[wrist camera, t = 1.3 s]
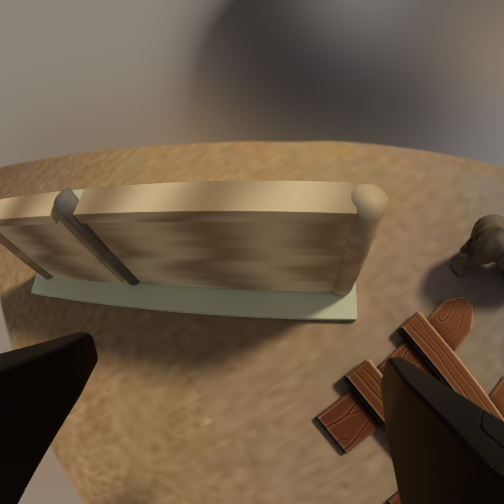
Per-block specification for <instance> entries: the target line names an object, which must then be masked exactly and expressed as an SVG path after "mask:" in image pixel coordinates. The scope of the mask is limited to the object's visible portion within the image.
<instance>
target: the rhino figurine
mask: <svg viewBox="0 0 504 504" xmlns="http://www.w3.org/2000/svg"><path fill="white" fill-rule="evenodd" d="M462 249H463V252H464V254H460V255H459V256H458V260H454V261H453V262H452V263H451V267H452V270H453V271H454V272H455V274H457V275H458V276H461V275H464V274H466V272H467V268H466V266H468V265H472V264H481V265H484V264H489V263H492V262H496V264H497V265H498V266H499V267H500V268H502V269H503V270H504V217H502V216H499V215H487V216H484V217H482V218H480V219H479V220H478V221H477V222H476V223H475V225H474V227H473V229H472V233H471V237H470V239H469V240H468V241H467V242H466V243H465V244H464V245H463V248H462ZM503 276H504V271H503Z"/></svg>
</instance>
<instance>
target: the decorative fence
mask: <svg viewBox="0 0 504 504" xmlns="http://www.w3.org/2000/svg"><path fill="white" fill-rule="evenodd" d="M472 317H473V307H472V306H471V304H470V303H469V302H468V301H467V300H466V298H465V297H457V298H452V299H446V300H444V301H443V302H442V303H441V304H440V305H439V306H438V307H437V308H436V309H435V310H434V312H433V313H432V314H431V315H430V316H429V317H428V318H427V319H426V318H425V317H424V316H423V315H422V314H421V312H420V311H417V312H415V313H414V314H413V315H412V316H411V317H410V318H409V319H408V320H407V321H406V322H405V323H404V324H403V325H402V326H401V327H400V328H399V333H400V334H401V335H402V336H403V337H404V339H405V341H404V342H403V343H402V344H401V345H400V346H399V347H398V348H397V349H396V350H395V351H394V352H393V353H392V354H391V355H390V356H389V357H388V358H390V357H402V358H404V359H405V360H407V361H408V362H410V363H412V364H413V365H415V366H416V367H418V368H419V369H421V370H423V371H424V372H426V373H427V374H429V375H430V376H433V375H435V376H436V377H437V378H438V380H439V381H440V382H441V383H443V384H445V385H446V386H448V387H449V388H451V389H452V390H454V391H456V392H457V393H459V394H460V395H462V396H464V397H465V398H467V399H468V400H470V401H471V402H473V403H475V404H476V405H478V406H479V407H481V408H482V410H486V411H487V412H489V413H491V414H492V415H494V416H496V417H497V418H499V419H501V420H502V421H504V376H502V378H501V379H500V381H499V382H498V383H497V385H496V386H495V388H494V389H493V390H492V392H491V393H490V394H489V396H487V394H486V393H485V392H484V390H483V389H482V388H481V386H480V385H479V384H478V382H477V381H476V380H475V378H474V377H473V376H472V374H471V373H470V372H469V371H468V369H467V368H466V367H465V366H464V364H463V363H462V362H461V360H460V359H459V358H458V357H457V355H456V354H455V353H454V351H455V350H456V349H457V347H458V346H459V345H460V344H461V343H462V341H463V340H464V339H465V338H466V336H467V335H468V334H469V333H470V331H471V326H472ZM388 358H386V359H385V360H384V361H383V362H382V363H381V364H380V365H379V366H378V367H377V368H376V366H375V365H374V364H373V363H372V362H371V360H370V359H365V360H364V361H363V362H362V363H360V364H359V365H358V366H357V367H356V368H355V369H353V370H352V371H351V372H350V373H349V374H347V375H346V376H345V378H344V381H345V382H346V383H347V384H348V386H349V387H350V388H351V390H350V391H349V392H347V393H346V394H345V395H344V396H342V397H341V398H340V399H339V400H337V401H336V402H335V403H334V404H332V405H331V406H330V407H328V408H327V409H326V410H324V411H323V412H322V413H320V414H319V415H318V416H316V419H317V421H318V422H319V423H320V424H321V426H322V427H323V428H324V429H325V431H326V432H327V433H328V434H329V435H330V437H331V438H332V439H333V440H334V442H335V443H336V444H337V445H338V446H339V448H340V449H341V450H342V451H343V452H344V453H348V452H350V451H351V450H352V449H354V448H355V447H356V446H357V445H359V444H360V443H361V442H362V441H364V440H365V439H366V438H367V437H368V436H370V435H371V434H372V433H373V432H374V431H376V430H377V429H378V428H379V427H380V426H382V427H383V428H384V429H385V431H386V428H385V419H384V410H383V401H382V393H381V380H382V376H383V372H384V368H385V364H386V361H387V359H388ZM387 503H388V504H401V502H400V497H399V491H398V492H396V493H395V494H394V495H393V496H391V497H390V498H389V499H388V500H387Z"/></svg>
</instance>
